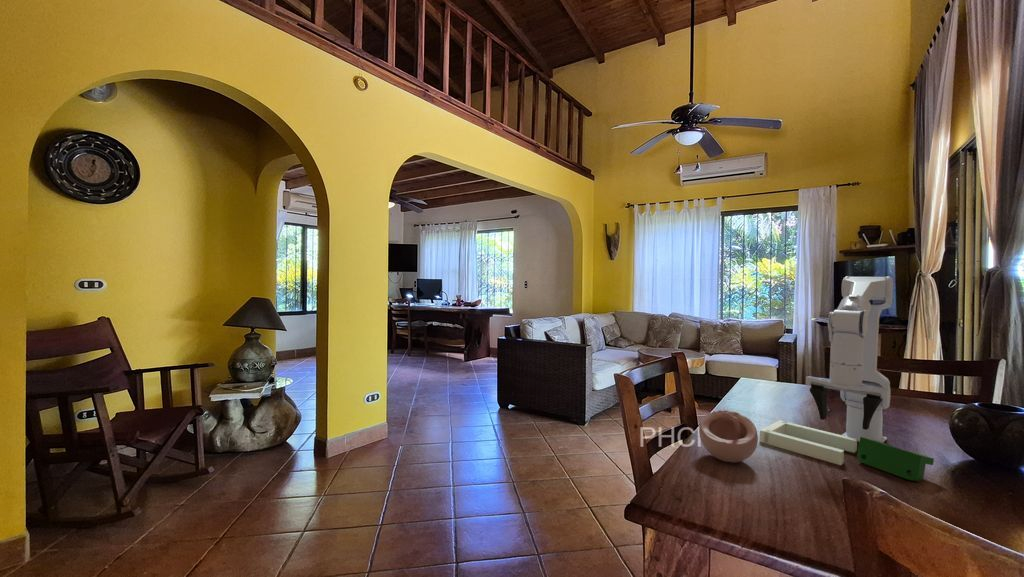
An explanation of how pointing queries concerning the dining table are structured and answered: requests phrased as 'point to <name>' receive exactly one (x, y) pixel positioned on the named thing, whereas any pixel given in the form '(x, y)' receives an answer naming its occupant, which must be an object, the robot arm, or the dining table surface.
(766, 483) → the dining table surface
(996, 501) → the dining table surface
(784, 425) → the bracket
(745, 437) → the pink round bowl
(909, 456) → the dark green block
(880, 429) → the robot arm
